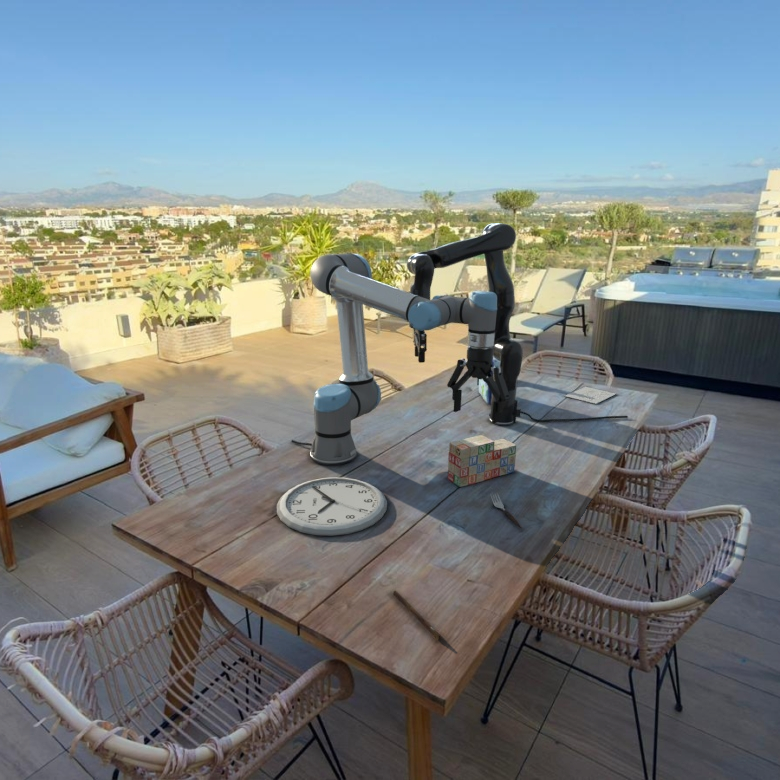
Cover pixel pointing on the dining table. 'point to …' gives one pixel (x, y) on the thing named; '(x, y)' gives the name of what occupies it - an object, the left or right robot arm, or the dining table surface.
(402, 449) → the dining table surface
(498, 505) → the fork
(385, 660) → the dining table surface
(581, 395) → the invitation card
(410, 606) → the dark brown stick
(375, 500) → the wall clock
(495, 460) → the stack of blocks
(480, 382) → the lunch box
